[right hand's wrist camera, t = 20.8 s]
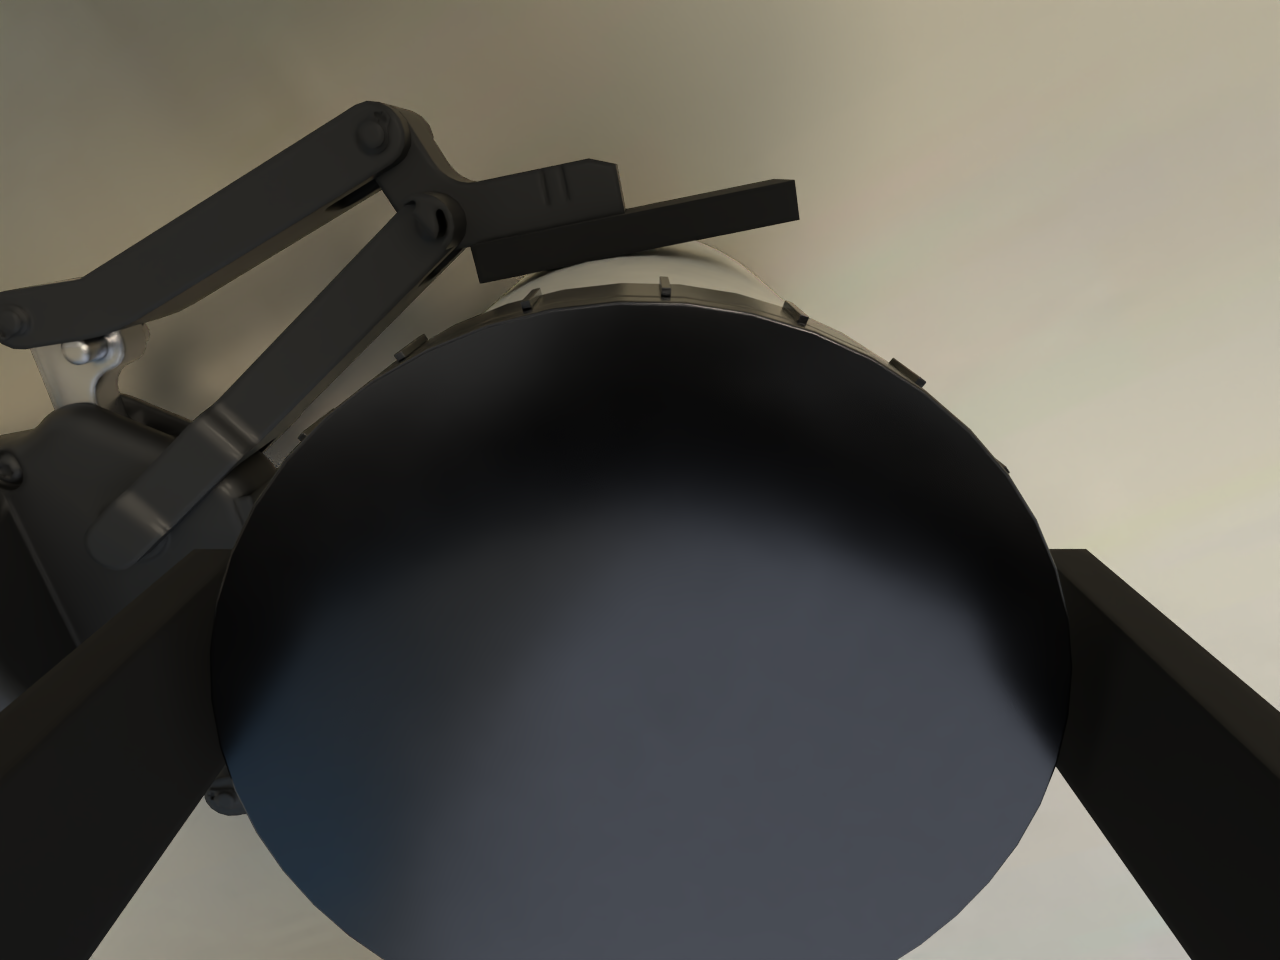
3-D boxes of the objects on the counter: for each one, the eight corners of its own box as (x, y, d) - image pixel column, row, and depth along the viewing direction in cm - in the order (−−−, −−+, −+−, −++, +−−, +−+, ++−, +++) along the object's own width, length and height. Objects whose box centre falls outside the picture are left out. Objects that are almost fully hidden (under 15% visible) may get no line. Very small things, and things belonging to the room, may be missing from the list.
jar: (872, 327, 25) (1183, 534, 10) (712, 604, 28) (786, 1048, 14) (553, 167, 23) (416, 156, 9) (423, 480, 26) (172, 835, 12)
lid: (775, 1023, 15) (790, 1120, 13) (163, 790, 13) (100, 871, 11) (1185, 515, 11) (1270, 568, 10) (434, 107, 10) (395, 95, 8)
